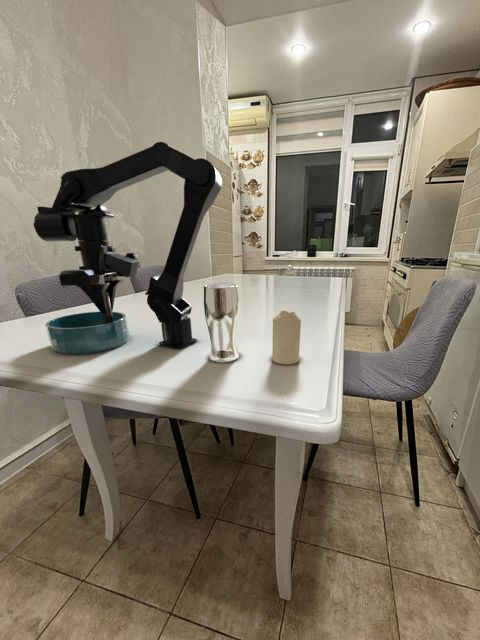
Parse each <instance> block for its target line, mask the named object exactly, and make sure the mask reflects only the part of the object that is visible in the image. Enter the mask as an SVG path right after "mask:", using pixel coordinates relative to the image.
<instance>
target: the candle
mask: <svg viewBox="0 0 480 640" xmlns="http://www.w3.org/2000/svg"><path fill="white" fill-rule="evenodd" d="M301 319H302V318H300V317H299V316H298V314H297V313H296V312H295V311H291V312H289V311H287V310H282V311H280V312H279V313H278V314H276V315H275V316H274V317H273V318H272V351H271V352H272V353H271V354H272V356H271V357H272V358H271V359H272V361H273V362H274V363H276V364H280V365H293V364H294V365H295V364H297V363H298V362H299V360H300V349H301V348H300V347H301V346H300V345H301V328H302V327H301V326H302V320H301Z"/></svg>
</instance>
